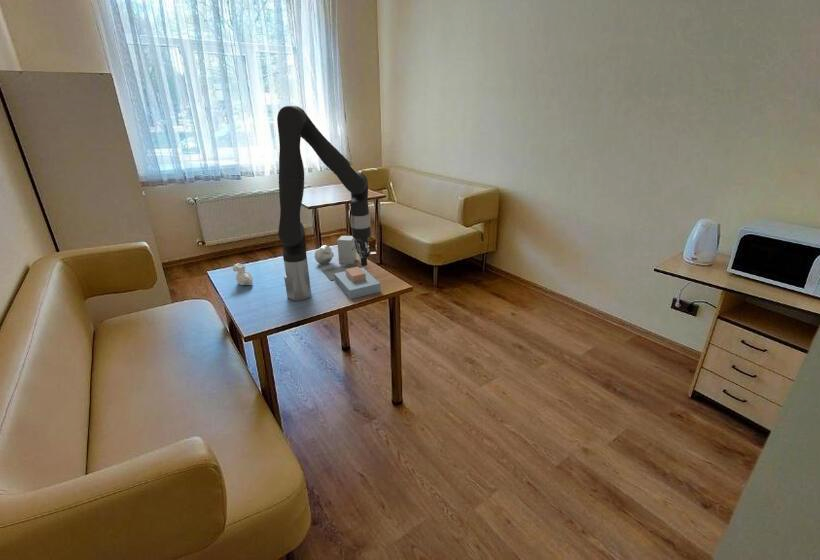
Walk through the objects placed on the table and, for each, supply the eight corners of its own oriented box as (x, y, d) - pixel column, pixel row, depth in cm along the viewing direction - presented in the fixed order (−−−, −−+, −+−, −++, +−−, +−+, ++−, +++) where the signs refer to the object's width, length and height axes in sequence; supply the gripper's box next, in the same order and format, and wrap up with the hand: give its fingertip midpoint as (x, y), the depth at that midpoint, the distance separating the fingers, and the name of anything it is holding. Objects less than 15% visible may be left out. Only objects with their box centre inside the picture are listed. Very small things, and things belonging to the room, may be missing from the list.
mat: (365, 273, 196) (365, 273, 196) (330, 281, 189) (330, 280, 189) (354, 263, 208) (354, 263, 208) (321, 270, 201) (321, 270, 200)
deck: (380, 291, 178) (380, 283, 177) (350, 298, 173) (349, 290, 171) (363, 275, 195) (362, 267, 193) (334, 281, 189) (334, 273, 187)
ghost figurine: (322, 269, 202) (320, 250, 198) (312, 263, 209) (310, 245, 205) (337, 264, 208) (336, 245, 204) (327, 259, 214) (325, 241, 210)
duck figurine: (241, 283, 193) (222, 269, 186) (253, 271, 195) (234, 257, 187) (249, 292, 185) (229, 278, 177) (261, 279, 186) (241, 265, 178)
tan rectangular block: (365, 279, 180) (365, 273, 179) (353, 282, 178) (352, 276, 177) (358, 272, 188) (357, 266, 186) (345, 275, 185) (345, 269, 184)
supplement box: (352, 264, 207) (351, 240, 202) (338, 263, 209) (336, 239, 203) (356, 258, 214) (355, 235, 209) (343, 258, 215) (341, 235, 210)
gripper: (376, 227, 159) (379, 269, 166) (363, 219, 170) (366, 258, 177) (358, 231, 156) (361, 273, 163) (346, 222, 166) (350, 262, 174)
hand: (364, 265), depth 170 cm, fingers closed
